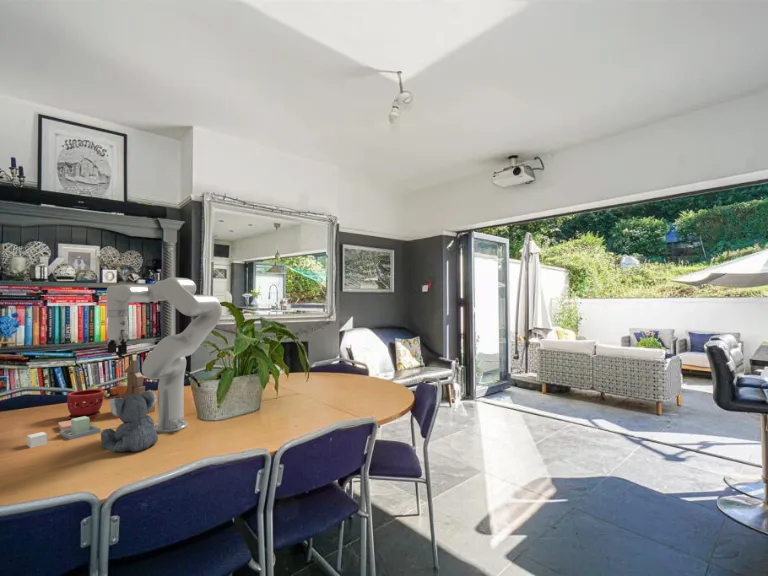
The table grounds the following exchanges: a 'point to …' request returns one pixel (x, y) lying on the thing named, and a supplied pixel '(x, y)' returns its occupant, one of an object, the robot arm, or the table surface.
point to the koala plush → (131, 424)
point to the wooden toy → (135, 382)
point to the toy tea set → (112, 389)
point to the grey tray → (91, 431)
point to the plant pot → (87, 408)
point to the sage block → (80, 425)
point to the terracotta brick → (64, 425)
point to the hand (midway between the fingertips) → (117, 353)
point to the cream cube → (36, 439)
